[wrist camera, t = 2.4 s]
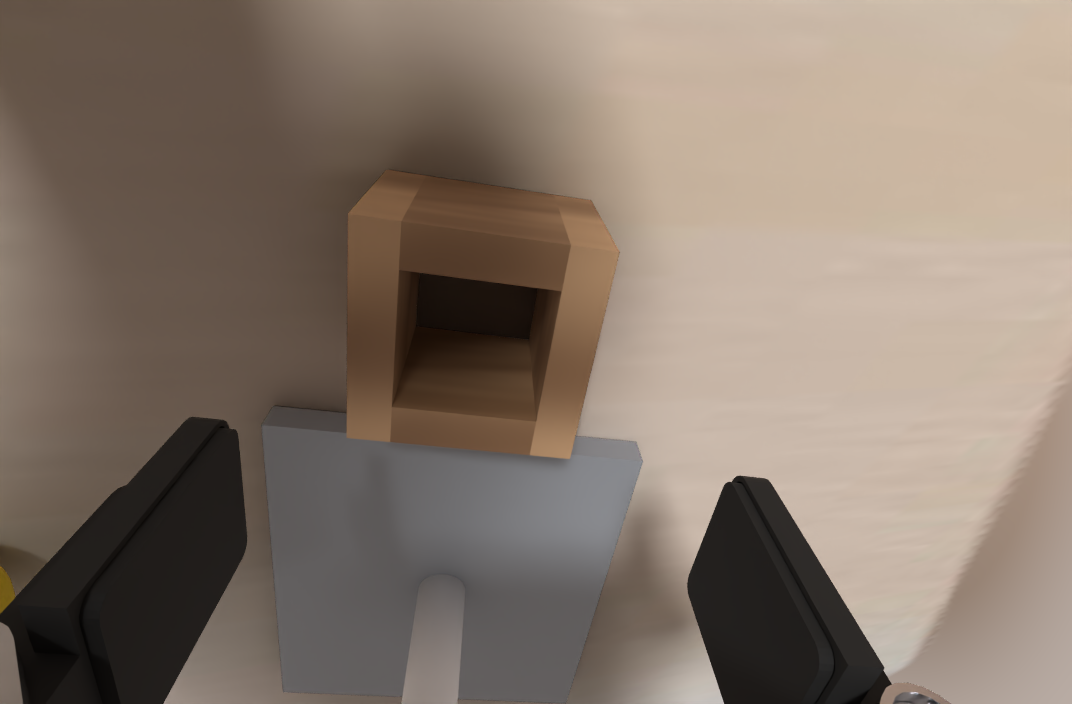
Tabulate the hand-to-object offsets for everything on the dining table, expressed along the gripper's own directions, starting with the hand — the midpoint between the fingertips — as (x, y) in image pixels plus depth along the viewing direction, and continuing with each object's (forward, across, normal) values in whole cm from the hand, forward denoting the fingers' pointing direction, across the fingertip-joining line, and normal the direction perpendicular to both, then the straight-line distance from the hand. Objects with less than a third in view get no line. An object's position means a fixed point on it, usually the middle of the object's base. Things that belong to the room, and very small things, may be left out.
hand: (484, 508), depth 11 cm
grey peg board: (+10, +1, +13) cm, 17 cm away
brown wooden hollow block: (+10, +1, -1) cm, 10 cm away
